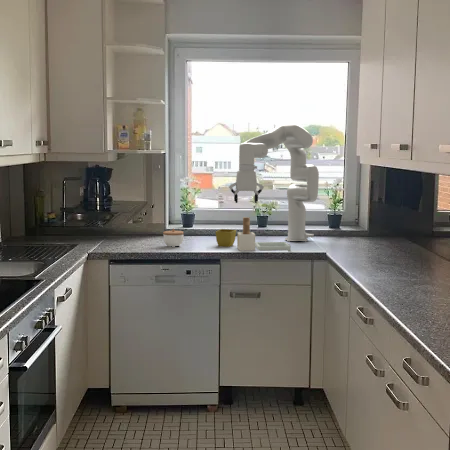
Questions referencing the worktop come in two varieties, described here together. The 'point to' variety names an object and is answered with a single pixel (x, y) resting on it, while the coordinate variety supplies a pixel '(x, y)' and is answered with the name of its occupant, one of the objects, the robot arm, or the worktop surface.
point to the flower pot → (225, 237)
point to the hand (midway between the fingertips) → (246, 202)
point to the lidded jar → (173, 238)
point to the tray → (272, 246)
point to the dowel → (246, 225)
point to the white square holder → (245, 241)
